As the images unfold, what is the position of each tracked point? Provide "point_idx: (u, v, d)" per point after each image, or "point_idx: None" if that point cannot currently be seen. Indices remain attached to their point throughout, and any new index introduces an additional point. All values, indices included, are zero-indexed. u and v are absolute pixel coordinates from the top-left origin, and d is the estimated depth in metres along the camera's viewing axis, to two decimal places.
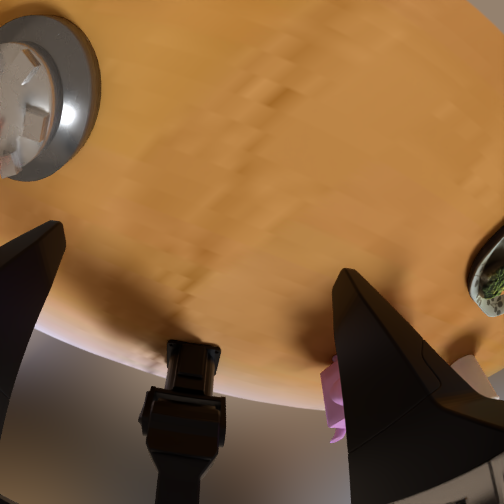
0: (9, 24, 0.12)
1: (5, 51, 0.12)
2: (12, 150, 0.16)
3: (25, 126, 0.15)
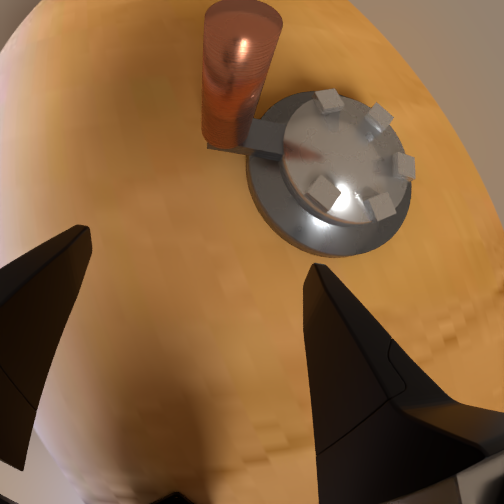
0: None
1: (391, 137, 0.21)
2: None
3: (377, 197, 0.20)
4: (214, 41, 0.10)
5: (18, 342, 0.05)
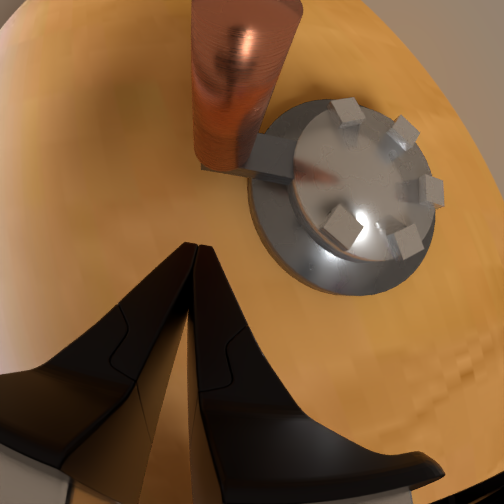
0: None
1: (417, 155, 0.18)
2: None
3: (404, 231, 0.16)
4: (205, 31, 0.07)
5: (156, 379, 0.06)
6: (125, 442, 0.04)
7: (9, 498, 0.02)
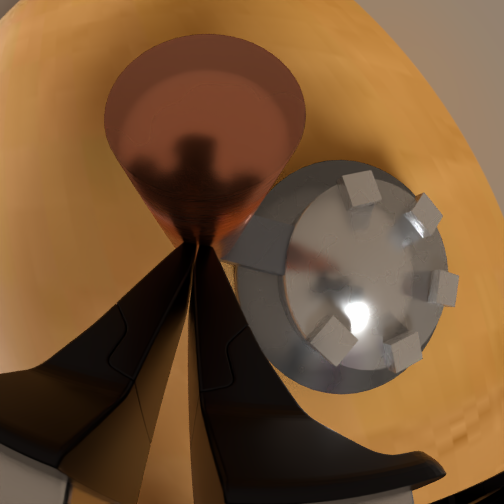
0: None
1: (435, 242, 0.16)
2: None
3: (403, 341, 0.14)
4: (125, 172, 0.05)
5: (154, 379, 0.06)
6: (123, 442, 0.04)
7: (8, 497, 0.02)
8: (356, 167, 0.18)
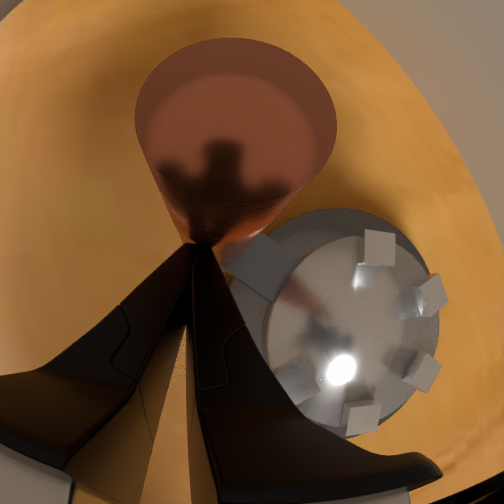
0: (408, 244, 0.18)
1: (431, 325, 0.15)
2: None
3: (364, 408, 0.13)
4: None
5: (157, 380, 0.06)
6: (127, 442, 0.04)
7: (11, 499, 0.02)
8: (349, 215, 0.17)
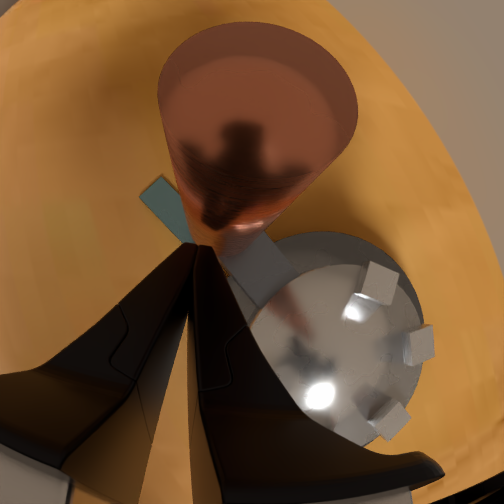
0: (394, 268, 0.17)
1: (411, 375, 0.14)
2: None
3: None
4: None
5: (155, 379, 0.06)
6: (125, 442, 0.04)
7: (9, 498, 0.02)
8: (331, 239, 0.17)
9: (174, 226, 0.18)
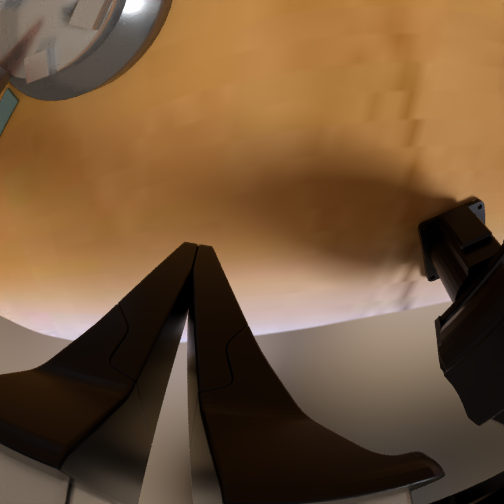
0: None
1: None
2: (48, 48, 0.11)
3: (76, 11, 0.10)
4: None
5: (156, 379, 0.06)
6: (125, 442, 0.04)
7: (9, 498, 0.02)
8: None
9: (5, 118, 0.17)
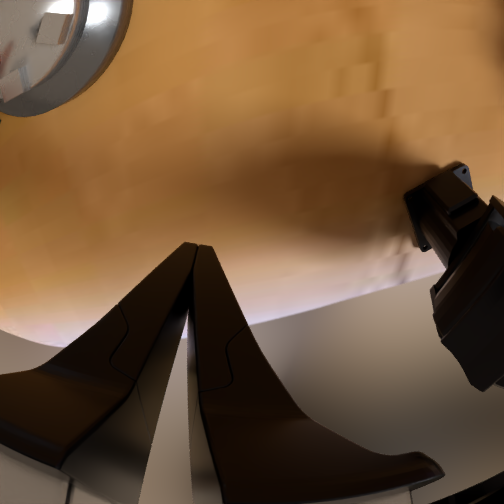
0: None
1: None
2: (20, 67, 0.12)
3: (41, 29, 0.10)
4: None
5: (156, 379, 0.06)
6: (125, 442, 0.04)
7: (9, 498, 0.02)
8: None
9: None
